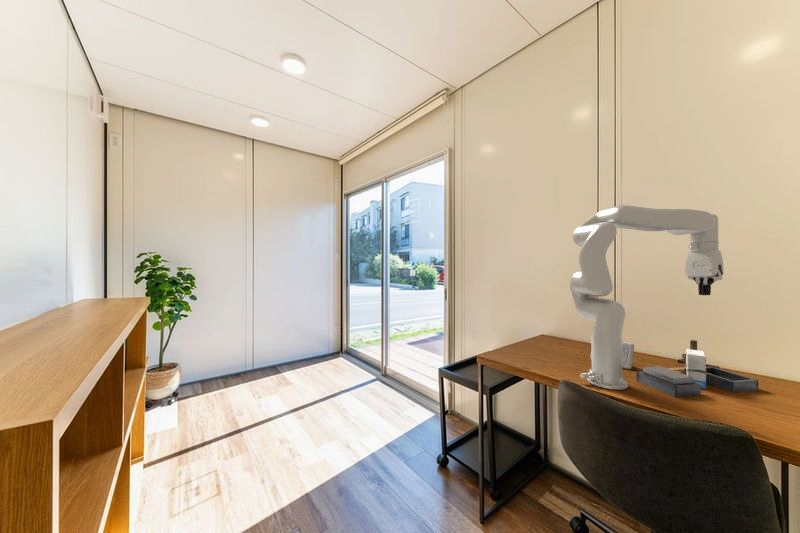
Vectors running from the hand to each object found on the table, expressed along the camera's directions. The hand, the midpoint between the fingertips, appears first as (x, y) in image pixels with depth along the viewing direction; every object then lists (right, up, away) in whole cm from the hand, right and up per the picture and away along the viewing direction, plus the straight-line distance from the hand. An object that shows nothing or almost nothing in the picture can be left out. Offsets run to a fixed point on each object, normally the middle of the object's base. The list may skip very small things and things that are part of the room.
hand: (704, 294), depth 114 cm
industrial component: (+6, -32, +10) cm, 34 cm away
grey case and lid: (-10, -32, -6) cm, 34 cm away
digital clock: (-23, -33, +18) cm, 44 cm away
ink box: (-8, -33, -5) cm, 34 cm away
